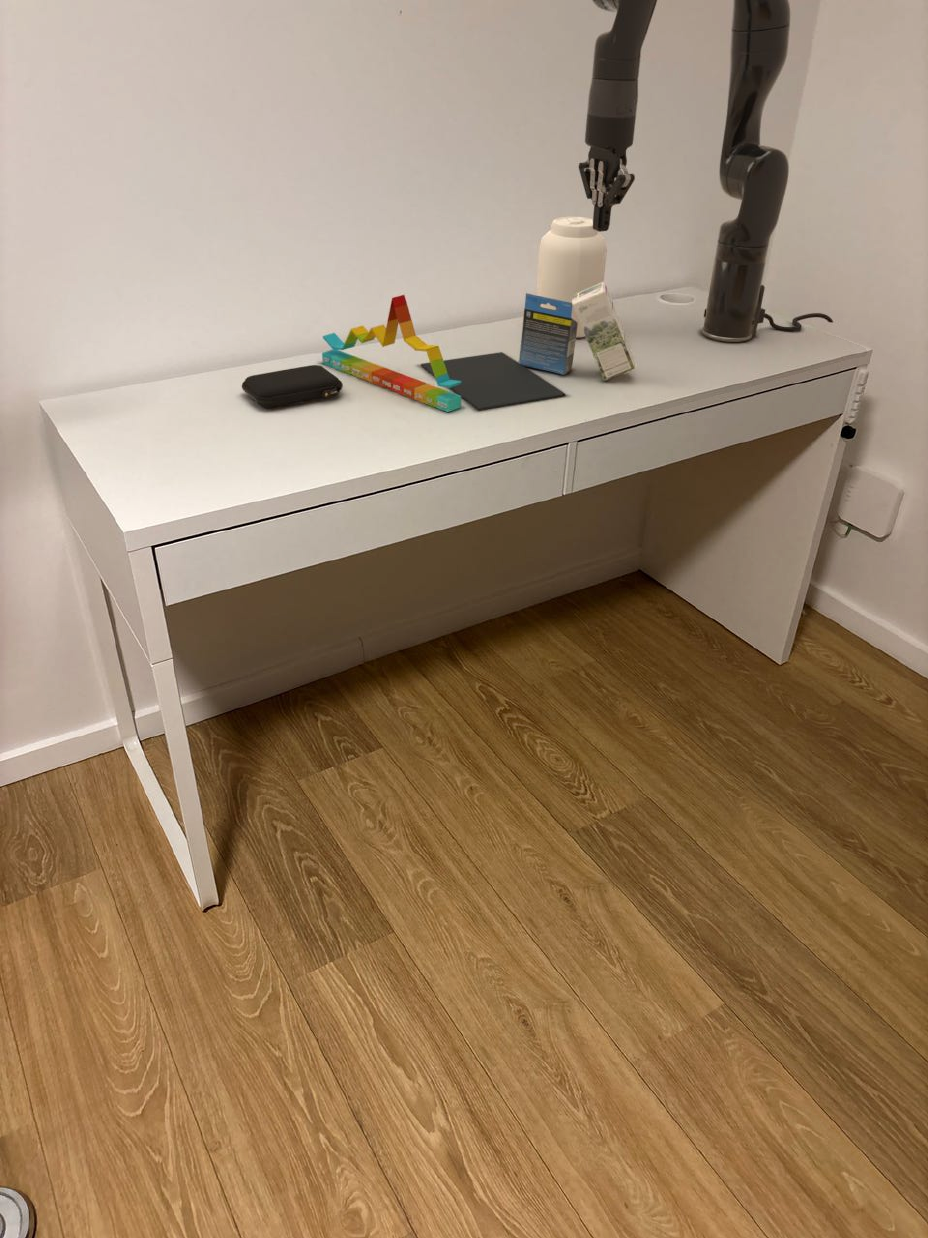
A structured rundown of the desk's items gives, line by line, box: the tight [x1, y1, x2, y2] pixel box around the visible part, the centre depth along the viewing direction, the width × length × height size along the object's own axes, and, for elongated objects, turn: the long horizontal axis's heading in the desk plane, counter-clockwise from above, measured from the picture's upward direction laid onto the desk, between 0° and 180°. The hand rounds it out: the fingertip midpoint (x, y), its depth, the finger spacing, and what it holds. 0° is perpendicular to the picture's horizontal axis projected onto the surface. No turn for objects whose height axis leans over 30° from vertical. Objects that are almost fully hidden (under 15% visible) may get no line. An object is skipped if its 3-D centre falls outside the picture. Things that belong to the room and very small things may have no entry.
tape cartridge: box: [518, 292, 578, 376], centre depth 166 cm, size 9×4×12 cm, turn 62°
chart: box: [321, 294, 462, 413], centre depth 157 cm, size 30×3×15 cm, turn 47°
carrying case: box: [241, 364, 344, 409], centre depth 155 cm, size 11×3×15 cm
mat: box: [420, 351, 566, 411], centre depth 164 cm, size 16×22×1 cm
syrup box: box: [572, 281, 636, 382], centre depth 163 cm, size 6×6×14 cm
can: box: [535, 215, 608, 339], centre depth 182 cm, size 12×12×20 cm
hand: (600, 229), depth 159 cm, fingers closed
